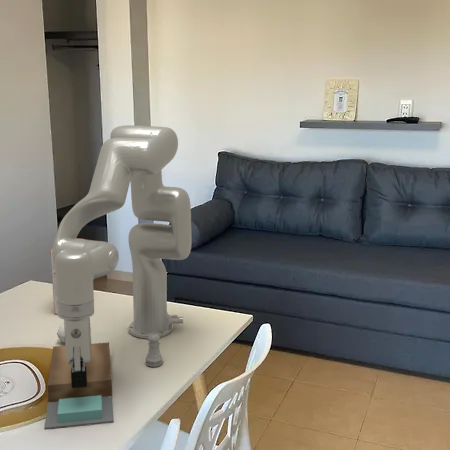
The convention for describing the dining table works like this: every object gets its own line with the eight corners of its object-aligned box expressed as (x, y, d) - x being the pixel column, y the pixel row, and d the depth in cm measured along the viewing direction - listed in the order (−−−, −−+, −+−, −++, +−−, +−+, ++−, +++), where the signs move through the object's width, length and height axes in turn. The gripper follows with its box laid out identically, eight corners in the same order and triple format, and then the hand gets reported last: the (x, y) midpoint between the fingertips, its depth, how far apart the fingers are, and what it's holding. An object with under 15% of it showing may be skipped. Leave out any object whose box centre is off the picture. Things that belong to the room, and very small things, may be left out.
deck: (109, 356, 153) (109, 342, 152) (112, 395, 134) (111, 379, 133) (53, 361, 150) (53, 346, 149) (48, 401, 131) (47, 385, 130)
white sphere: (59, 338, 164) (58, 319, 162) (80, 337, 164) (79, 318, 163) (54, 350, 156) (53, 330, 155) (76, 349, 157) (75, 330, 156)
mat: (112, 398, 133) (112, 396, 133) (113, 422, 124) (113, 420, 124) (48, 404, 130) (47, 402, 130) (44, 429, 121) (44, 427, 121)
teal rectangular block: (101, 409, 124) (102, 418, 125) (101, 395, 130) (101, 403, 130) (57, 414, 122) (57, 422, 123) (59, 399, 128) (59, 407, 128)
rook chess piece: (155, 369, 147) (155, 339, 145) (141, 364, 149) (141, 335, 147) (166, 362, 151) (166, 333, 149) (152, 358, 153) (152, 329, 151)
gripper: (94, 319, 118) (97, 401, 122) (93, 293, 132) (96, 368, 137) (55, 322, 117) (59, 405, 121) (59, 295, 131) (63, 371, 135)
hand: (79, 385), depth 129 cm, fingers closed
